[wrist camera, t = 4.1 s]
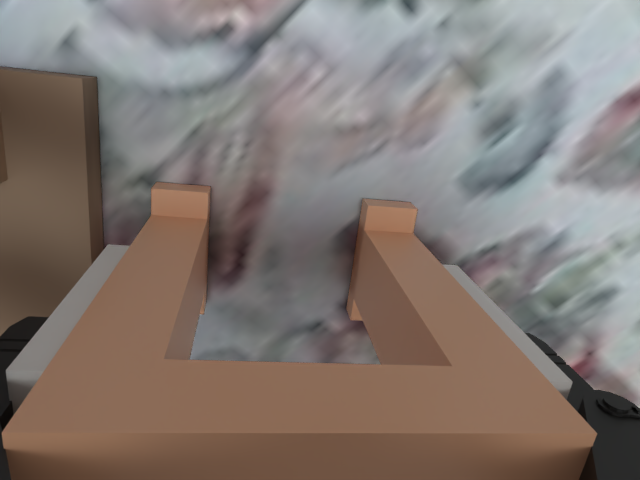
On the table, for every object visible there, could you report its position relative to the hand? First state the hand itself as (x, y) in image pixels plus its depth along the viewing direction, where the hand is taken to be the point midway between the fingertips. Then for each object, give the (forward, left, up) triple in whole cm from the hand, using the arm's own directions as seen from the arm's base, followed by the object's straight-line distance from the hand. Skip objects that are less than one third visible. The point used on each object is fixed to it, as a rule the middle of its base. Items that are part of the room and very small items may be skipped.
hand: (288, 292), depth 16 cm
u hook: (0, 0, -4) cm, 4 cm away
